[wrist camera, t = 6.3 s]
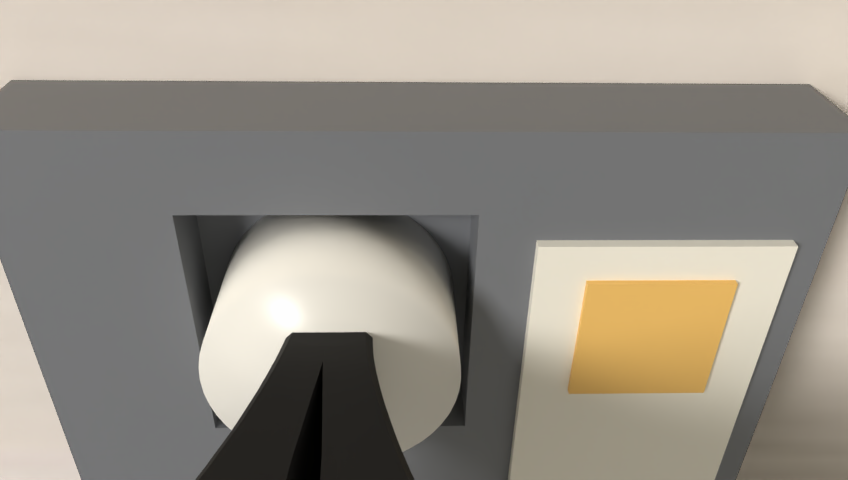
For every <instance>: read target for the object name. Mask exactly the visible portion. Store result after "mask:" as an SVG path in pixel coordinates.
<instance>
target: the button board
mask: <svg viewBox="0 0 848 480" xmlns="http://www.w3.org/2000/svg"><path fill="white" fill-rule="evenodd" d="M847 188H848V116H847V115H846V114H845V113H843V112H842V111H841V110H840V109H839V108H837V107H836V106H835V105H834V104H833V103H831V102H830V101H829V100H828V99H826V98H825V97H824V96H823V95H822V94H820V93H819V92H818V91H817V90H815V89H814V88H813V87H812V86H811V85H809V84H625V83H432V82H238V81H45V80H11V81H10V82H9V83H7V84H6V85H5V86H4V87H3V88H2V89H0V260H1V263H2V265H3V268H4V271H5V273H6V276H7V279H8V282H9V284H10V287H11V290H12V292H13V295H14V298H15V301H16V303H17V306H18V309H19V311H20V314H21V317H22V320H23V322H24V325H25V328H26V330H27V333H28V336H29V339H30V341H31V344H32V347H33V349H34V352H35V355H36V358H37V360H38V363H39V366H40V368H41V371H42V374H43V377H44V379H45V382H46V385H47V388H48V390H49V393H50V396H51V398H52V401H53V404H54V407H55V409H56V412H57V415H58V417H59V420H60V423H61V426H62V428H63V431H64V434H65V436H66V439H67V442H68V445H69V447H70V450H71V453H72V455H73V458H74V461H75V464H76V466H77V469H78V472H79V474H80V477H81V480H195V479H196V478H197V477H198V475H199V474H200V473H201V472H202V470H203V469H204V468H205V466H206V465H207V464H208V462H209V461H210V459H211V458H212V457H213V455H214V454H215V453H216V451H217V450H218V449H219V447H220V446H221V444H222V443H223V442H224V440H225V439H226V438H227V436H228V435H229V434H230V432H231V431H232V430H231V429H229V428H228V427H227V426H226V425H225V424H224V423H223V422H222V421H221V420H220V418H219V417H218V416H217V415H216V414H215V412H214V411H213V409H212V408H211V406H210V405H209V403H208V401H207V399H206V397H205V395H204V392H203V389H202V386H201V382H200V377H199V355H200V351H201V347H202V343H203V340H204V337H205V334H206V331H207V328H208V325H209V322H210V319H211V316H212V313H213V310H214V307H215V304H216V301H217V298H218V295H219V292H220V289H221V285H222V282H223V279H224V276H225V273H226V270H227V267H228V264H229V261H230V258H231V256H232V254H233V252H234V249H235V247H236V245H237V244H238V242H239V241H240V239H241V238H242V236H243V235H244V234H245V233H246V232H247V231H248V230H249V229H250V228H251V226H253V225H254V224H255V223H256V222H257V221H259V220H260V219H261V218H262V217H264V216H266V215H406V216H408V217H410V218H411V219H412V220H414V221H415V222H416V223H418V224H419V225H420V226H422V227H423V228H424V229H425V230H426V231H427V232H428V233H429V234H430V235H431V236H432V238H433V239H434V240H435V241H436V243H437V244H438V245H439V247H440V248H441V250H442V252H443V254H444V256H445V257H446V260H447V263H448V265H449V268H450V272H451V277H452V283H453V293H454V303H455V313H456V323H457V334H458V344H459V354H460V364H461V383H460V389H459V393H458V396H457V399H456V402H455V404H454V406H453V408H452V410H451V412H450V414H449V415H448V416H447V418H446V419H445V420H444V422H443V423H442V424H441V425H440V426H439V427H438V428H437V429H436V430H435V431H434V432H433V433H432V434H431V435H429V436H428V437H427V438H426V439H424V440H423V441H422V442H420V443H418V444H417V445H415V446H413V447H412V448H410V449H408V450H406V451H404V452H403V454H404V457H405V459H406V461H407V464H408V466H409V469H410V471H411V473H412V475H413V477H414V480H736V478H737V475H738V473H739V470H740V467H741V465H742V462H743V460H744V457H745V454H746V452H747V449H748V446H749V444H750V441H751V439H752V436H753V433H754V431H755V428H756V426H757V423H758V420H759V418H760V415H761V413H762V410H763V407H764V405H765V402H766V399H767V397H768V394H769V392H770V389H771V386H772V384H773V381H774V379H775V376H776V373H777V371H778V368H779V366H780V363H781V360H782V358H783V355H784V352H785V350H786V347H787V345H788V342H789V339H790V337H791V334H792V332H793V329H794V326H795V324H796V321H797V319H798V316H799V313H800V311H801V308H802V305H803V303H804V300H805V298H806V295H807V292H808V290H809V287H810V285H811V282H812V279H813V277H814V274H815V271H816V269H817V266H818V264H819V261H820V258H821V256H822V253H823V251H824V248H825V245H826V243H827V240H828V238H829V235H830V232H831V230H832V227H833V224H834V222H835V219H836V217H837V214H838V211H839V209H840V206H841V204H842V201H843V198H844V196H845V193H846V191H847Z"/></svg>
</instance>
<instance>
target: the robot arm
mask: <svg viewBox="0 0 848 480" xmlns="http://www.w3.org/2000/svg"><path fill="white" fill-rule="evenodd" d="M195 480H414V477H413V475H412V473H411V471H410V469H409V466H408V464H407V461H406V459H405V457H404V454H403V452H402V450H401V447H400V445H399V442H398V440H397V437H396V434H395V432H394V429H393V426H392V423H391V420H390V417H389V414H388V411H387V409H386V406H385V403H384V399H383V396H382V392H381V389H380V385H379V381H378V377H377V373H376V367H375V362H374V355H373V337H371V336H370V335H369V334H368V333H367V332H296V333H295V332H292V333H291V334H290V335H289V336H287V337H286V339H285V341H284V343H283V345H282V347H281V349H280V351H279V353H278V355H277V357H276V359H275V361H274V363H273V365H272V366H271V368H270V370H269V372H268V374H267V375H266V377H265V379H264V380H263V382H262V384H261V385H260V387H259V389H258V391H257V392H256V394H255V395H254V397H253V398H252V400H251V402H250V403H249V405H248V406H247V408H246V409H245V411H244V412H243V414H242V416H241V417H240V419H239V420H238V422H237V423H236V425H235V426H234V428H233V429H232V431H231V432H230V434H229V435H228V436H227V438H226V439H225V440H224V442H223V443H222V444H221V446H220V447H219V449H218V450H217V451H216V453H215V454H214V455H213V457H212V458H211V459H210V461H209V462H208V464H207V465H206V466H205V468H204V469H203V470H202V472H201V473H200V474H199V475H198V477H197V478H196V479H195Z"/></svg>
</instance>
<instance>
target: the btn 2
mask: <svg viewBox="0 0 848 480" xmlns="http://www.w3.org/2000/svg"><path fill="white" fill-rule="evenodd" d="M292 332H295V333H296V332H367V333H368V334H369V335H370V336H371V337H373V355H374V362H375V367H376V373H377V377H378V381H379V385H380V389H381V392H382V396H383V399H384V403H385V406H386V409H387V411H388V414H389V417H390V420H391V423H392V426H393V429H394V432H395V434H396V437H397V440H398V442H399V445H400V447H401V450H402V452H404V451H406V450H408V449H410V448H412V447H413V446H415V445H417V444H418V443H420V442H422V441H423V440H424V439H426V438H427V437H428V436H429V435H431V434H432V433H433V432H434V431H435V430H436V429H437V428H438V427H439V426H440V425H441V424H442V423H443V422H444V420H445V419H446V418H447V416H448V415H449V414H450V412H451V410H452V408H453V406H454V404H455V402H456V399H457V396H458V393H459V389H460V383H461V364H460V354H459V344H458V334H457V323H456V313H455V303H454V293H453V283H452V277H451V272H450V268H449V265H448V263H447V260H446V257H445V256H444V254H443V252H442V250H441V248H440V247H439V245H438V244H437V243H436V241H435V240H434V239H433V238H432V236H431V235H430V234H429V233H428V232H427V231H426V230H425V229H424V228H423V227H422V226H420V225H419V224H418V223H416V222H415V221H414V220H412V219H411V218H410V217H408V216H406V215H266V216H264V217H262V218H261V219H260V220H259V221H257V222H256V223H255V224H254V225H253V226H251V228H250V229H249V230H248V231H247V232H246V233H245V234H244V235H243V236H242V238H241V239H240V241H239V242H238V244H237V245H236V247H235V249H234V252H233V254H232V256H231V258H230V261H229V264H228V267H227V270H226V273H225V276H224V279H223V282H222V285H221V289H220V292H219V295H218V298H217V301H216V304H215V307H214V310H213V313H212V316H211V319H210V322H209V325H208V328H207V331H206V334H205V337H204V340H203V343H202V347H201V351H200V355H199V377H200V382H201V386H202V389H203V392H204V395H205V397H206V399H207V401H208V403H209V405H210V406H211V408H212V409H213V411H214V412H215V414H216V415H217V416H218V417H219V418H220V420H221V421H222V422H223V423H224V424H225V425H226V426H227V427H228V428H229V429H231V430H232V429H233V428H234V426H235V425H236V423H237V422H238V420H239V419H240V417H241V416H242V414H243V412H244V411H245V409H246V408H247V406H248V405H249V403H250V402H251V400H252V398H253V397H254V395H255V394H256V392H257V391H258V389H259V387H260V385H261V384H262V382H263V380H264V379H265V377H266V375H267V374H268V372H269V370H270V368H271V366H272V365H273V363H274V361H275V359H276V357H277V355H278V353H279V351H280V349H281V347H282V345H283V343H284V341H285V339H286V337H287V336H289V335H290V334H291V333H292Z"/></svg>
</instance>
